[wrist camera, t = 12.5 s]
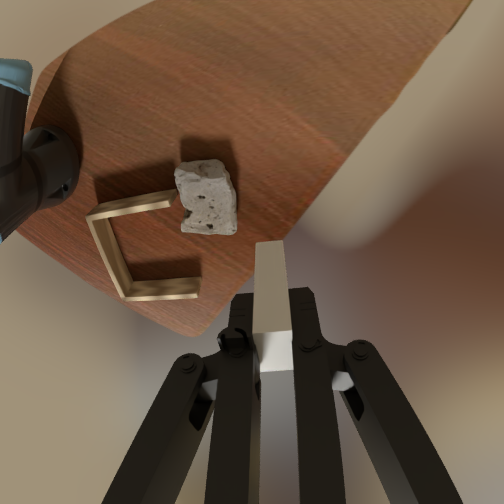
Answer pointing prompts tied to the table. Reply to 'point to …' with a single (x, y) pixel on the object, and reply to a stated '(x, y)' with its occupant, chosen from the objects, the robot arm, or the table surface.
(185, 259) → the table surface
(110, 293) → the table surface
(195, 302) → the table surface
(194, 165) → the stone
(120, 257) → the bracket
